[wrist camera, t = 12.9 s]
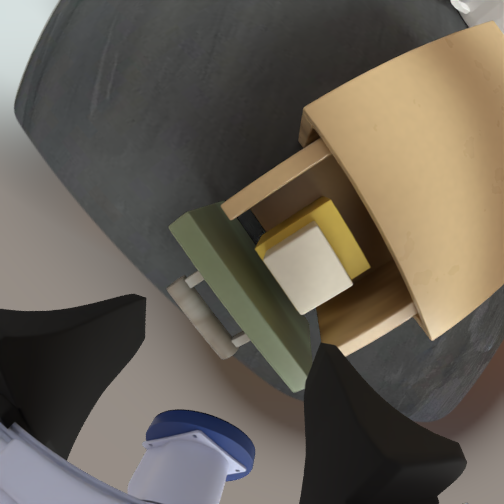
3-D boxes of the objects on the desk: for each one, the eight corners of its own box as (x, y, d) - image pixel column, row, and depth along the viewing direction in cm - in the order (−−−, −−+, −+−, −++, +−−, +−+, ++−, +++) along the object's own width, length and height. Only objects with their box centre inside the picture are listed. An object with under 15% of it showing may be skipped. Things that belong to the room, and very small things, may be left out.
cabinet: (383, 281, 19) (431, 342, 10) (297, 140, 17) (302, 107, 9) (502, 190, 15) (574, 202, 7) (435, 62, 14) (493, 19, 6)
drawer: (250, 353, 20) (233, 416, 14) (167, 242, 19) (113, 271, 13) (440, 238, 16) (496, 266, 10) (367, 106, 15) (404, 71, 9)
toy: (297, 288, 18) (298, 327, 13) (261, 235, 17) (248, 257, 12) (357, 251, 16) (380, 278, 12) (323, 195, 16) (336, 201, 11)
